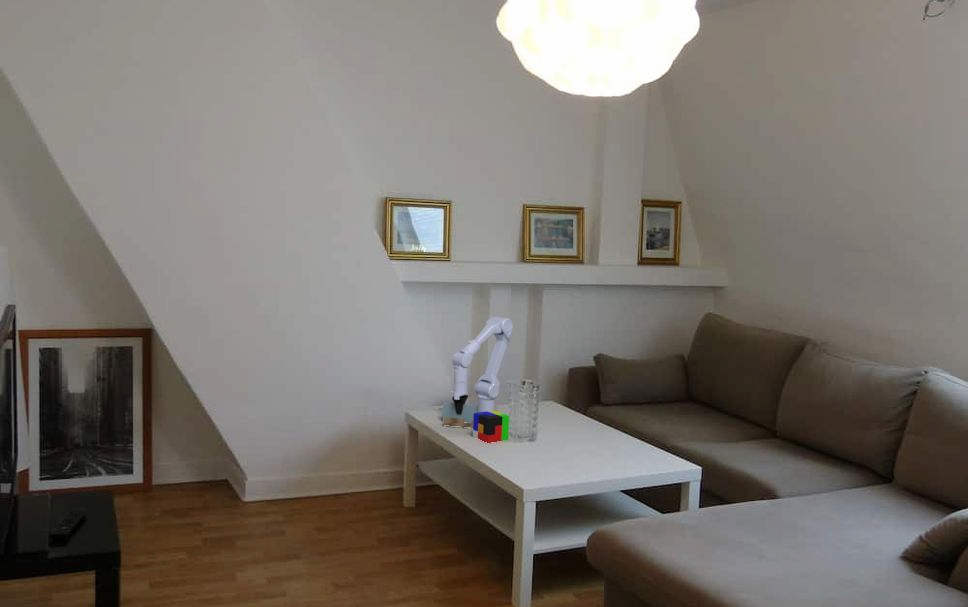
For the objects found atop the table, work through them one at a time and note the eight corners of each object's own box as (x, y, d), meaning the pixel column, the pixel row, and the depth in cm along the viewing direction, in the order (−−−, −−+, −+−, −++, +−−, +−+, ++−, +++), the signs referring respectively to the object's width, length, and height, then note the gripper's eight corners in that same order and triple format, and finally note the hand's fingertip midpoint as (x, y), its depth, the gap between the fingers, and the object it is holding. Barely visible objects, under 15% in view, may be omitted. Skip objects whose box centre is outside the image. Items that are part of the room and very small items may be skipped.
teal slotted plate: (442, 422, 384) (443, 403, 383) (443, 421, 386) (444, 402, 385) (475, 424, 382) (476, 406, 381) (476, 423, 383) (476, 405, 383)
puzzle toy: (472, 437, 361) (473, 413, 360) (492, 434, 367) (493, 410, 366) (487, 443, 353) (488, 418, 352) (508, 440, 359) (509, 415, 358)
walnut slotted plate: (443, 426, 377) (443, 418, 376) (444, 425, 379) (444, 417, 378) (491, 430, 373) (491, 422, 373) (492, 429, 375) (492, 420, 375)
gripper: (455, 377, 389) (454, 408, 391) (447, 383, 375) (446, 416, 377) (471, 378, 388) (470, 409, 390) (464, 385, 374) (463, 417, 376)
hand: (459, 413), depth 383 cm, fingers closed on teal slotted plate, 2 cm apart
